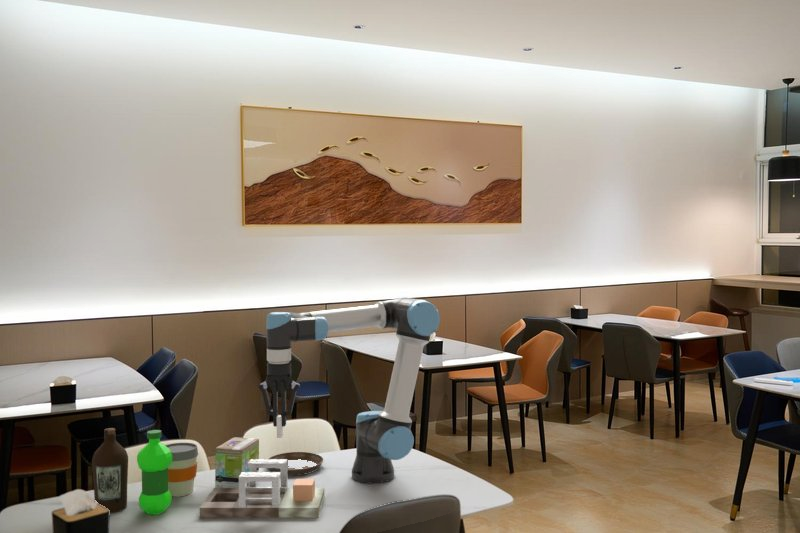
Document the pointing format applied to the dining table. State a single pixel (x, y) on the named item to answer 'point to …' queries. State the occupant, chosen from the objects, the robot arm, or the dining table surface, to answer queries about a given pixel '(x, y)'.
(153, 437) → the plastic bottle
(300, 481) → the terracotta block
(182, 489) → the reusable coffee cup
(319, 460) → the plant saucer
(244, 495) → the tunnel
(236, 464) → the tea box
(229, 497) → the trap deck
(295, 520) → the dining table surface
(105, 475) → the olive oil
